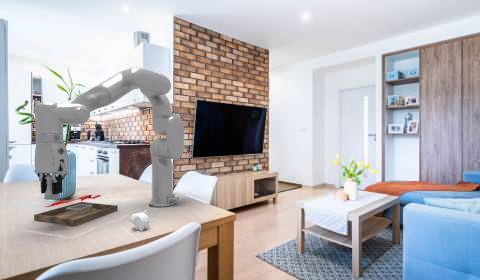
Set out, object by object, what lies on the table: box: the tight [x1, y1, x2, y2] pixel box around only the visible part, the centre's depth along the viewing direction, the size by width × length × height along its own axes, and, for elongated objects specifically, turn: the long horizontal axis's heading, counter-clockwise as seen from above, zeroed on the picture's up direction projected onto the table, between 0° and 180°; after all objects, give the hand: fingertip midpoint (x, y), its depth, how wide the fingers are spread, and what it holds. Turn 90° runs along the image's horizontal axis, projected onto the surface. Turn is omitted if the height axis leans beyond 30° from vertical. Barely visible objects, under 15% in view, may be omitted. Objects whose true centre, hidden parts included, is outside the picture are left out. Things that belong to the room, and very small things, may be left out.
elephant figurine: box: [130, 210, 150, 232], centre depth 91 cm, size 7×8×6 cm
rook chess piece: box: [43, 173, 60, 201], centre depth 87 cm, size 4×4×8 cm
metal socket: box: [65, 204, 93, 216], centre depth 107 cm, size 7×7×2 cm
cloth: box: [44, 194, 102, 208], centre depth 127 cm, size 26×14×2 cm, turn 136°
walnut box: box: [33, 201, 119, 227], centre depth 103 cm, size 20×20×3 cm
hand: (51, 192), depth 87 cm, fingers closed on rook chess piece, 4 cm apart
